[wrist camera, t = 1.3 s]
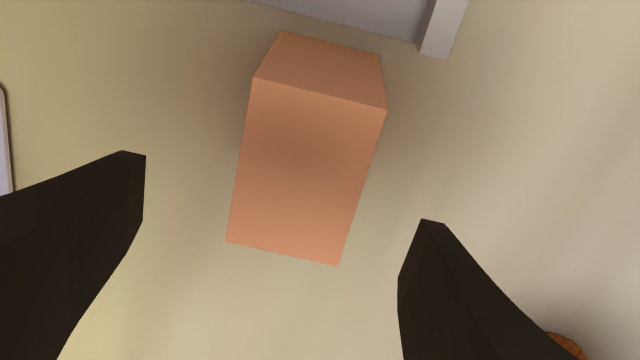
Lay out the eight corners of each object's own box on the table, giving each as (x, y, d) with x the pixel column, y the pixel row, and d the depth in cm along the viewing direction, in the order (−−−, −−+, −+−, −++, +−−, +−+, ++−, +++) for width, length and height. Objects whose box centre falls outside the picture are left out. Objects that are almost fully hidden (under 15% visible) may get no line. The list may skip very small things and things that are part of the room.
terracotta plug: (341, 182, 22) (337, 266, 17) (255, 161, 22) (225, 241, 17) (379, 54, 20) (387, 110, 14) (280, 30, 19) (252, 77, 14)
